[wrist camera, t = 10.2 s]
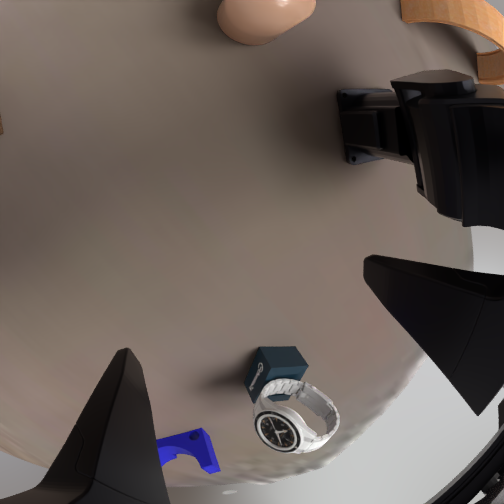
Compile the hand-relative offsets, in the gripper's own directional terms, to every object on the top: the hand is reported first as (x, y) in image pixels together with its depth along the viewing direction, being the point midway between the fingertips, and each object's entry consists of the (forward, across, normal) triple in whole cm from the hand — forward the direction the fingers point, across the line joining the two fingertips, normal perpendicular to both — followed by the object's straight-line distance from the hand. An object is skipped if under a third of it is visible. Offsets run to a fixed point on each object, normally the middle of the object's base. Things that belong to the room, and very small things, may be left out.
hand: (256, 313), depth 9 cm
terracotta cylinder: (+12, -7, -14) cm, 20 cm away
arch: (+12, -35, -15) cm, 40 cm away
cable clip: (+12, +15, +28) cm, 34 cm away
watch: (+12, -2, +18) cm, 22 cm away
